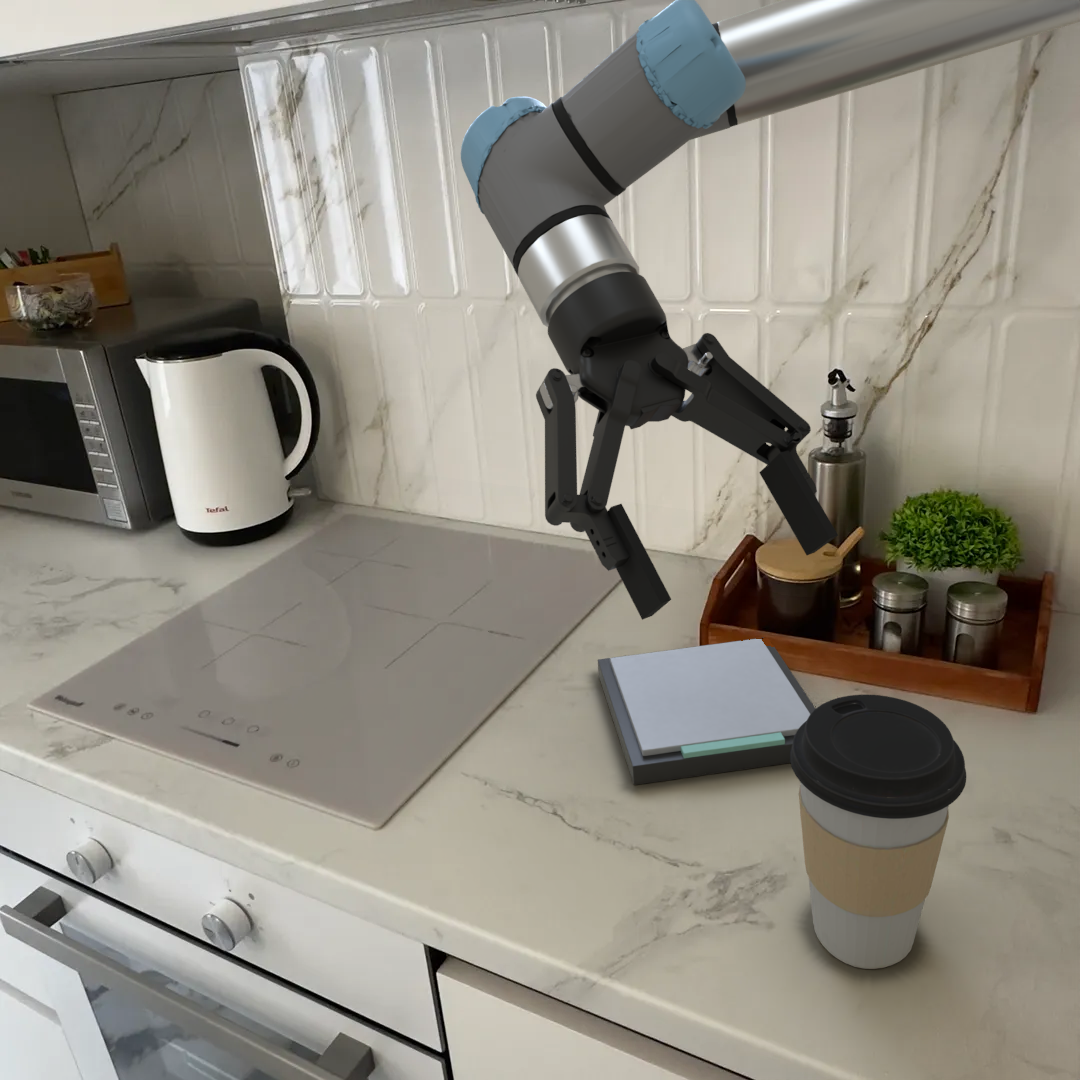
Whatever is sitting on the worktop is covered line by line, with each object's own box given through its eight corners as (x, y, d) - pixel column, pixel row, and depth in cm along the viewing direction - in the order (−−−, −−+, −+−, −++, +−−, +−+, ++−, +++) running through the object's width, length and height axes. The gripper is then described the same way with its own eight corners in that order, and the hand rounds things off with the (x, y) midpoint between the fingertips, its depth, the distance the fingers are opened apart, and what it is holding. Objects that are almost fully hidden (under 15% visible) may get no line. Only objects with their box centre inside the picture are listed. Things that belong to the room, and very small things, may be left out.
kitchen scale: (767, 653, 91) (768, 631, 90) (834, 756, 76) (835, 731, 75) (598, 675, 90) (597, 653, 89) (633, 785, 75) (632, 760, 74)
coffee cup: (834, 856, 67) (845, 669, 60) (972, 927, 60) (999, 725, 54) (755, 938, 61) (757, 740, 55) (898, 1026, 54) (919, 813, 48)
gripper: (709, 306, 75) (849, 545, 69) (416, 370, 64) (554, 661, 58) (759, 240, 69) (918, 497, 63) (442, 298, 57) (601, 617, 52)
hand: (744, 576), depth 61 cm, fingers open, 13 cm apart
